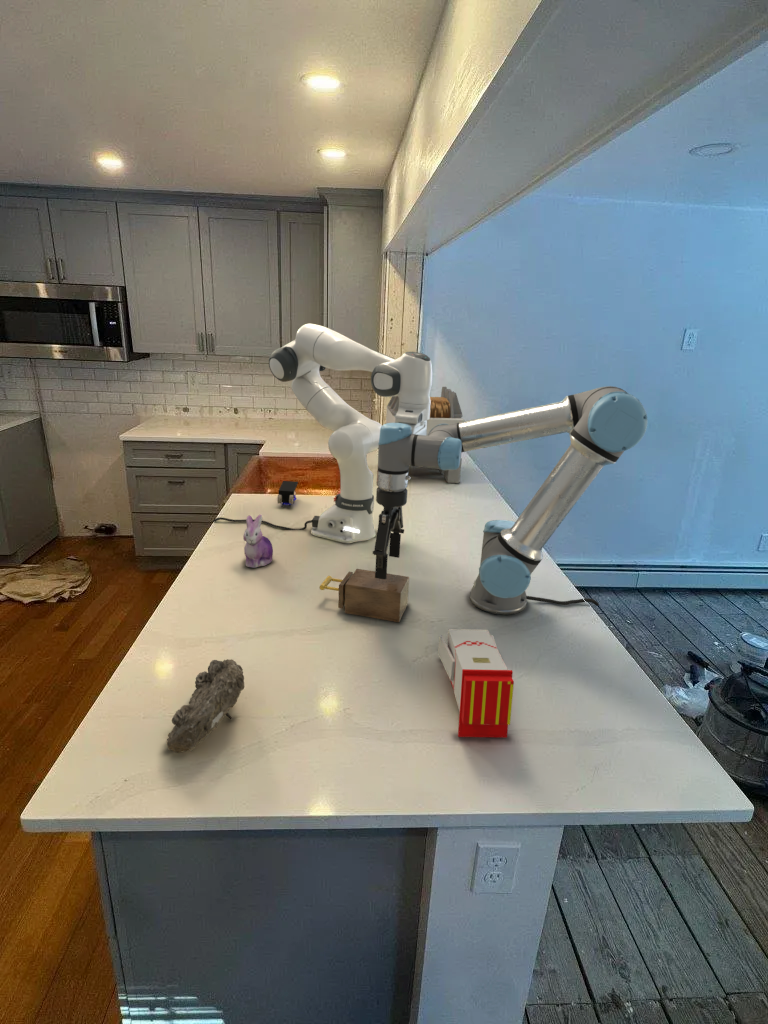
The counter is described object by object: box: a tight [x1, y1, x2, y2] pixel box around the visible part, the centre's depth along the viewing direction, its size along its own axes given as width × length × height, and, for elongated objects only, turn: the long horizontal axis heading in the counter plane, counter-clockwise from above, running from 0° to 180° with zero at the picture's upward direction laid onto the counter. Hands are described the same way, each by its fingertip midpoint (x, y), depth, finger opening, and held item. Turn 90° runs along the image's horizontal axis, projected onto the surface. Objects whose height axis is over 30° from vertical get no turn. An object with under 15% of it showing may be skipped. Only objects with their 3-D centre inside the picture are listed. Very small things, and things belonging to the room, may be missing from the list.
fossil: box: [166, 658, 245, 754], centre depth 106 cm, size 22×10×15 cm
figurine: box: [242, 514, 274, 569], centre depth 170 cm, size 9×10×15 cm
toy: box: [437, 628, 515, 738], centre depth 117 cm, size 12×13×30 cm
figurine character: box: [276, 480, 299, 509], centre depth 224 cm, size 7×8×15 cm
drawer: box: [319, 571, 354, 609], centre depth 149 cm, size 19×8×7 cm, turn 75°
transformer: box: [385, 386, 466, 484], centre depth 268 cm, size 34×33×41 cm
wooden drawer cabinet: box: [344, 568, 410, 623], centre depth 148 cm, size 14×10×8 cm, turn 75°
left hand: (411, 460), depth 164 cm, fingers open, 8 cm apart
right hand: (387, 567), depth 145 cm, fingers open, 13 cm apart
